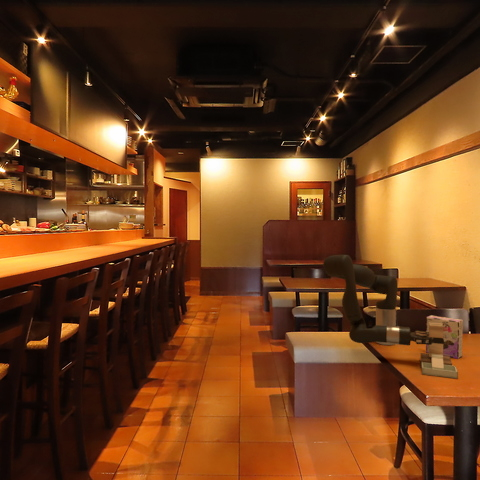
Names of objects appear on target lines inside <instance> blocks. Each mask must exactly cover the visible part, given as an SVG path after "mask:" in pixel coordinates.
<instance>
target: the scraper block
mask: <svg viewBox="0 0 480 480" xmlns="http://www.w3.org/2000/svg"><path fill="white" fill-rule="evenodd" d="M429 337H435V338H443V324H440V323H429ZM431 353H436V354H442V355H443V344H437V343H433V344H432V345H429V353H428V354H429V357H431Z"/></svg>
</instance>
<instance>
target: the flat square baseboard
mask: <svg viewBox="0 0 480 480" xmlns="http://www.w3.org/2000/svg"><path fill="white" fill-rule="evenodd" d="M422 362H426V363H431V357H429V353H421V352H420V368H421V369H422ZM443 364H444V365H452V366H453V362H452V360H451V357H450V356H443Z"/></svg>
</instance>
